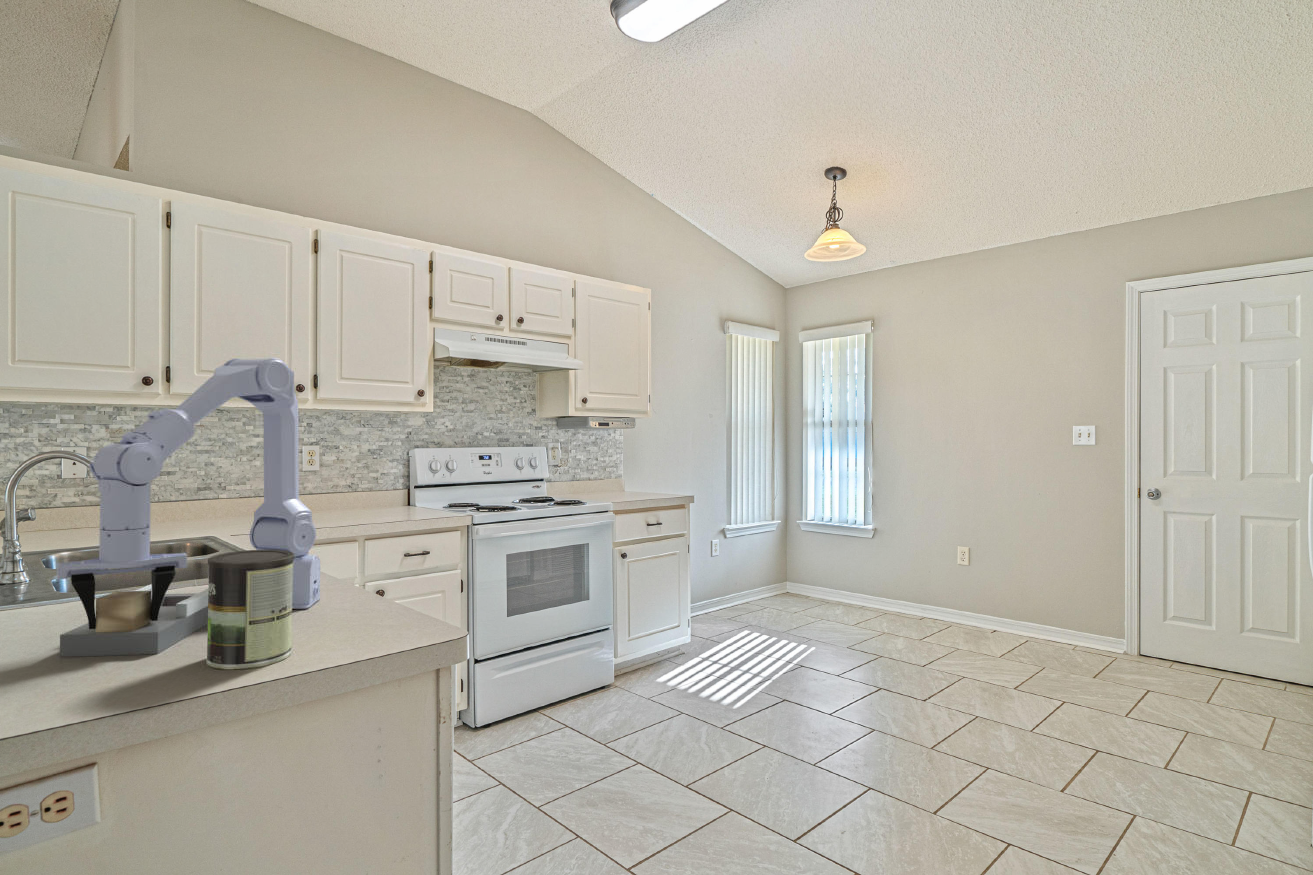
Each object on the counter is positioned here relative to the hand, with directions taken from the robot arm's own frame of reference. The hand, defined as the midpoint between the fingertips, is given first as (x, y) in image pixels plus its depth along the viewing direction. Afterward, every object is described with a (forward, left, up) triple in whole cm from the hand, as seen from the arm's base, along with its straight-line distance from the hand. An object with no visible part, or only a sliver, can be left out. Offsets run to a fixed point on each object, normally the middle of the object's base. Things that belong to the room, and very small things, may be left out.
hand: (123, 623), depth 98 cm
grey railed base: (0, -9, -3) cm, 9 cm away
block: (0, 0, 0) cm, 1 cm away
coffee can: (-19, +6, -4) cm, 20 cm away
